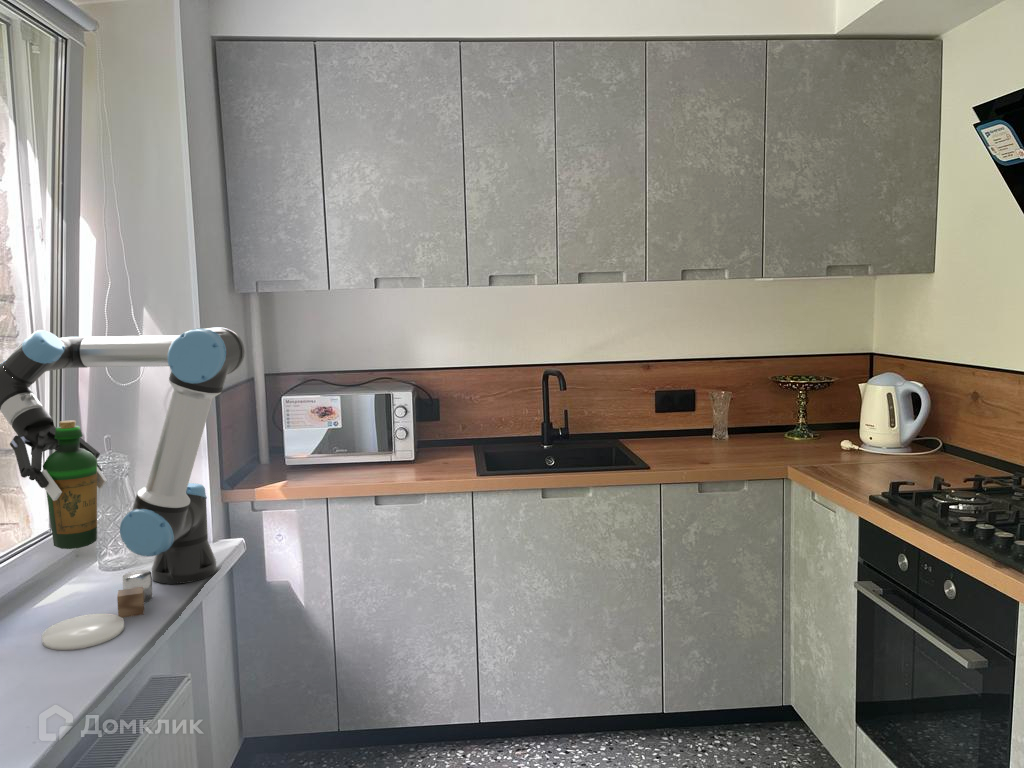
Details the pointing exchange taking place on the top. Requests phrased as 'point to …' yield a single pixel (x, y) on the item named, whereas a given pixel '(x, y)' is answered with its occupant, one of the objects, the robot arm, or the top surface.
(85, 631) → the white round disc
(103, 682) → the top surface
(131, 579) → the metal tin
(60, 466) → the bottle
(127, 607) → the walnut block
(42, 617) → the top surface
